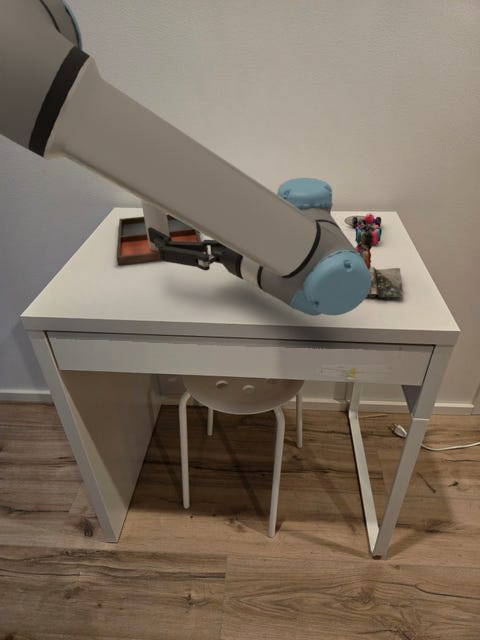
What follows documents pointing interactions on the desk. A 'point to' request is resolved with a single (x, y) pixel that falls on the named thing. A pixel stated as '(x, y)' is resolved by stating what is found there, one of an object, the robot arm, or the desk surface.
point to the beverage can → (154, 221)
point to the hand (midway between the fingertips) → (179, 223)
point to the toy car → (362, 221)
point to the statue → (381, 279)
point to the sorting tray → (136, 241)
